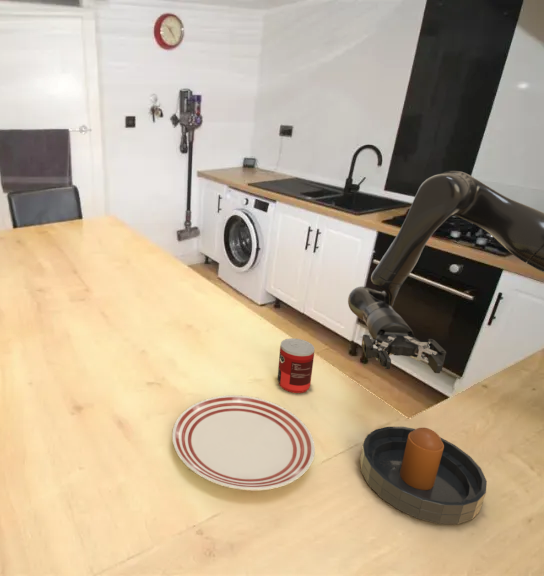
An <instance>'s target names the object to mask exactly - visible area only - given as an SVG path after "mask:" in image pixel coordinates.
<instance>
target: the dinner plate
mask: <svg viewBox="0 0 544 576" xmlns="http://www.w3.org/2000/svg"><path fill="white" fill-rule="evenodd" d="M171 435H172V437H171V438H172V444H173V448H174V450H175V452H176V454H177V456H178V457H179V459H180V461H182V463H183V464H184V465H185V467H187V468H188V469H189V470H191V471H192V472H193V473H195V474H196V475H197V476H200V477H201V478H202V479H205V480H206V481H209V482H211V483H213V484H216V485H218V486H222V487H225V488H230V489H234V490H240V491H269V490H272V489H277V488H281V487H285V486H287V485H289V484H291V483H293V482H295V481H297V480H298V479H300V478H301V477H302V476H304V475H305V474H306V472H308V470H309V468H310V467H311V465H312V463H313V462H314V458H315V453H316V446H315V445H316V444H315V440H314V437H313V435H312V433H311V431H310V430H309V428H308V427H307V425H306V424H305V423H304V422H303V421H302V420H301V418H299V417H298V416H297V415H295V413H293V412H292V411H290V410H289V409H286V408H285V407H283V406H281V405H280V404H277V403H274V402H271V401H269V400H266V399H262V398H259V397H253V396H249V395H234V394H233V395H218V396H214V397H209V398H207V399H203V400H200V401H198V402H196V403H193V404H192V405H191V406H189V407H187V408H186V409H185V410H184V411H183V412H181V413H180V415H179V416H178V417H177V419H176V421H175V422H174V425H173V428H172V434H171Z"/></svg>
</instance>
